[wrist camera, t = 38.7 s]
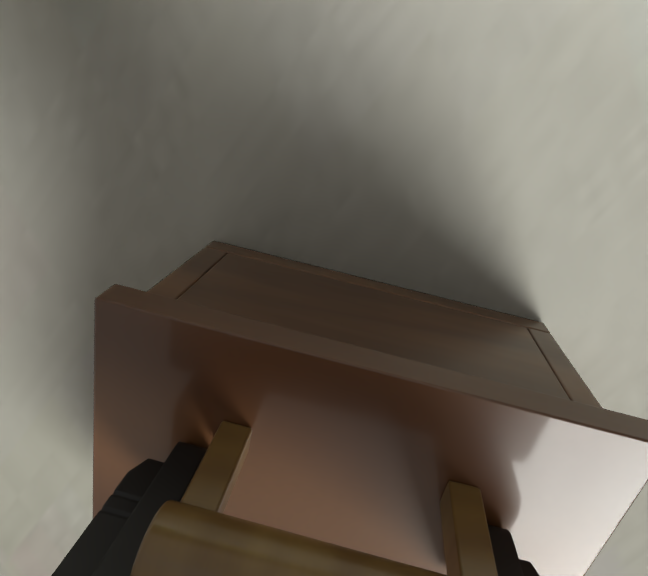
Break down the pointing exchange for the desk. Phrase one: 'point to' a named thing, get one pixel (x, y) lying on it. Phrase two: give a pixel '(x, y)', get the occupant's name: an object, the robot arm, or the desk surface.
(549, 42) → the desk surface
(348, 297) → the storage box
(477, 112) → the desk surface
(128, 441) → the box lid
